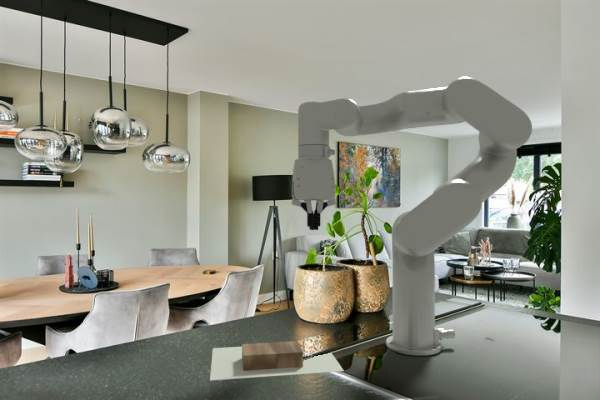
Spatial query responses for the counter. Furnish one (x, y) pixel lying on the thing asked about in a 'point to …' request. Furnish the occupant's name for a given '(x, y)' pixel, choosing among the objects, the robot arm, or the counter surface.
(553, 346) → the counter surface
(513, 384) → the counter surface
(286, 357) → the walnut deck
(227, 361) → the mat
